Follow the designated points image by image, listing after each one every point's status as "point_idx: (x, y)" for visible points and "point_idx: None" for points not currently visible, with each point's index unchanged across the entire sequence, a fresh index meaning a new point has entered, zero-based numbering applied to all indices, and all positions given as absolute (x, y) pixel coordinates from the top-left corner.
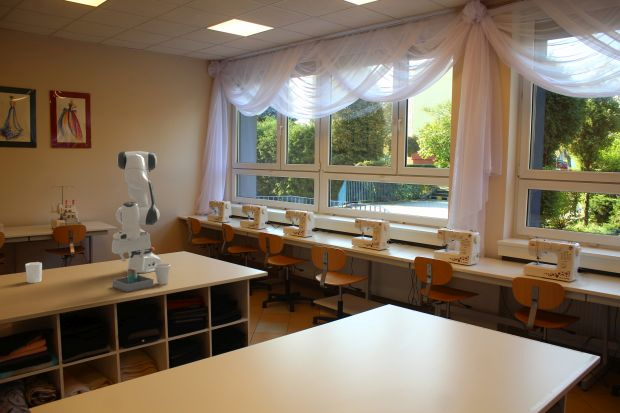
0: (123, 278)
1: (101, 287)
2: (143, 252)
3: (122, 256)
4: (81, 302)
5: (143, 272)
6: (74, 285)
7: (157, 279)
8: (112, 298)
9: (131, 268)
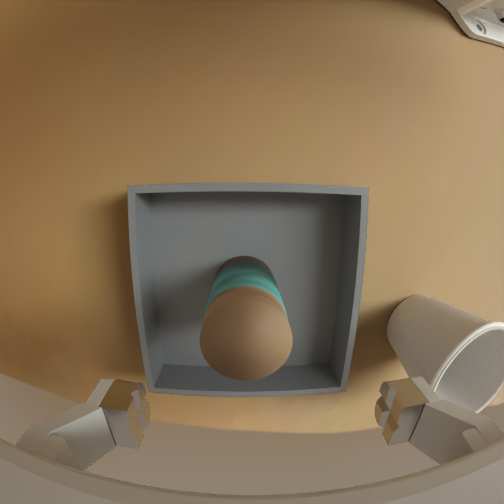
0: (222, 190)
1: (98, 140)
2: (444, 461)
3: (80, 461)
4: None
5: (456, 20)
6: (47, 14)
7: (396, 340)
8: (78, 398)
9: (260, 308)
